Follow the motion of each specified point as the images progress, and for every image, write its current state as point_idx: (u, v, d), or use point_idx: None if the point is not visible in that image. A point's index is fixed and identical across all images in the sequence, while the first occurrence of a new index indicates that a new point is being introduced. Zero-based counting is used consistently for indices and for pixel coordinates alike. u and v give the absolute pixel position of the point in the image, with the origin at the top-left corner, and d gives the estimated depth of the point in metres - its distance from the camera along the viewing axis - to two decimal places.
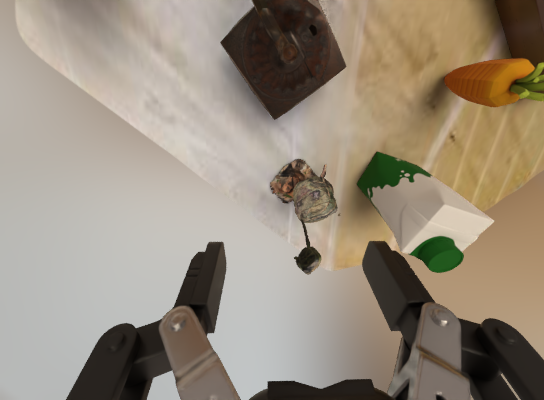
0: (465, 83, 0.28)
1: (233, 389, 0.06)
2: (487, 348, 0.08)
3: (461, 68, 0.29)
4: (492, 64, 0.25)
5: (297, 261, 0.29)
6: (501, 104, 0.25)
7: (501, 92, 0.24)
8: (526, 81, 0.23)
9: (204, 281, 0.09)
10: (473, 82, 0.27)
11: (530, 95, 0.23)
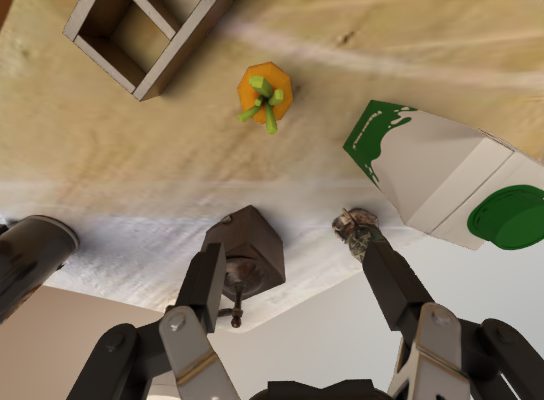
0: None
1: (233, 389, 0.06)
2: (486, 348, 0.08)
3: None
4: None
5: None
6: (289, 100, 0.19)
7: (273, 113, 0.19)
8: (259, 108, 0.17)
9: (204, 281, 0.09)
10: None
11: (276, 104, 0.16)
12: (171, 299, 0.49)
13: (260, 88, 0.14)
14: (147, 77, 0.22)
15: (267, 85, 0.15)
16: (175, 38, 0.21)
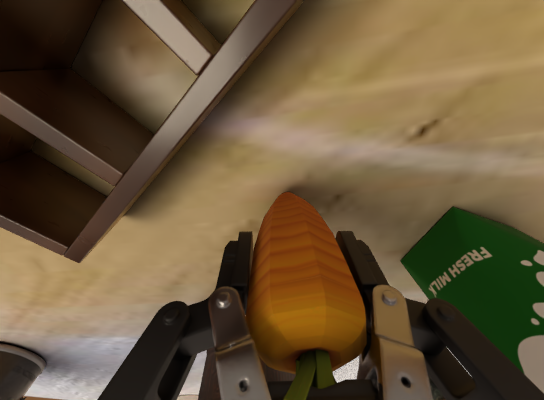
0: None
1: (263, 377, 0.06)
2: (429, 325, 0.08)
3: None
4: None
5: None
6: (362, 348, 0.08)
7: None
8: None
9: (241, 266, 0.10)
10: None
11: None
12: None
13: None
14: (84, 235, 0.13)
15: None
16: (123, 182, 0.11)
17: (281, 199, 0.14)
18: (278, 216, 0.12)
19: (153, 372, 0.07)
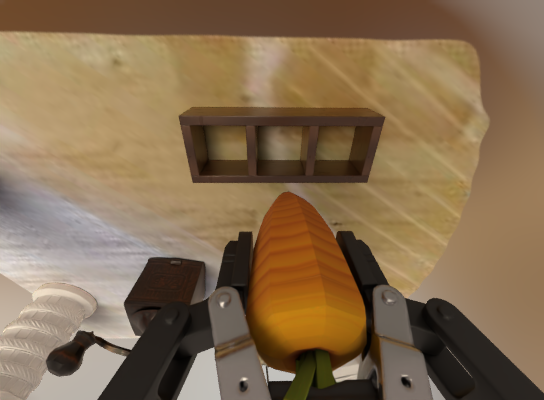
0: None
1: (263, 377, 0.06)
2: (429, 324, 0.08)
3: None
4: None
5: None
6: (362, 348, 0.08)
7: None
8: None
9: (242, 266, 0.10)
10: None
11: None
12: (54, 288, 0.44)
13: None
14: (213, 177, 0.27)
15: None
16: (252, 177, 0.27)
17: (281, 199, 0.14)
18: (278, 215, 0.12)
19: (153, 372, 0.07)
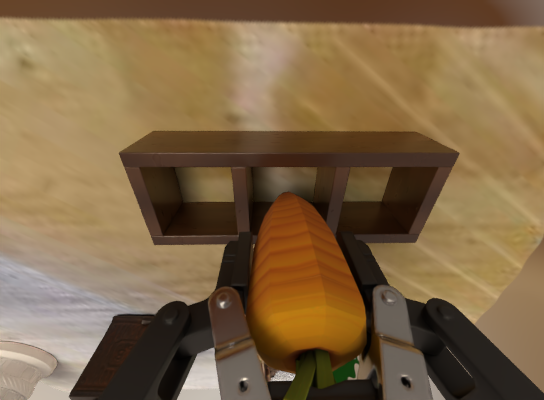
0: None
1: (263, 377, 0.06)
2: (429, 325, 0.08)
3: None
4: None
5: None
6: (362, 348, 0.08)
7: None
8: None
9: (242, 266, 0.10)
10: None
11: None
12: None
13: None
14: (184, 238, 0.18)
15: None
16: None
17: (281, 199, 0.14)
18: (278, 215, 0.12)
19: (153, 372, 0.07)
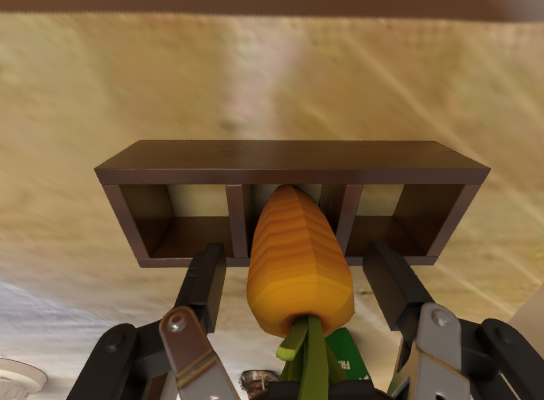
0: None
1: (233, 389, 0.06)
2: (487, 348, 0.08)
3: None
4: None
5: None
6: (350, 316, 0.09)
7: None
8: None
9: (204, 281, 0.09)
10: None
11: None
12: None
13: None
14: (174, 261, 0.16)
15: None
16: (241, 259, 0.16)
17: (280, 189, 0.15)
18: (276, 203, 0.13)
19: None
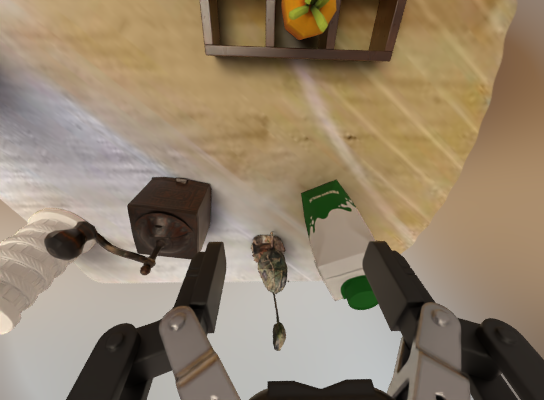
0: None
1: (233, 389, 0.06)
2: (487, 348, 0.08)
3: None
4: (286, 27, 0.21)
5: None
6: (334, 7, 0.19)
7: None
8: (308, 8, 0.18)
9: (204, 281, 0.09)
10: None
11: None
12: (51, 212, 0.42)
13: None
14: (228, 48, 0.25)
15: None
16: (270, 49, 0.25)
17: None
18: None
19: None
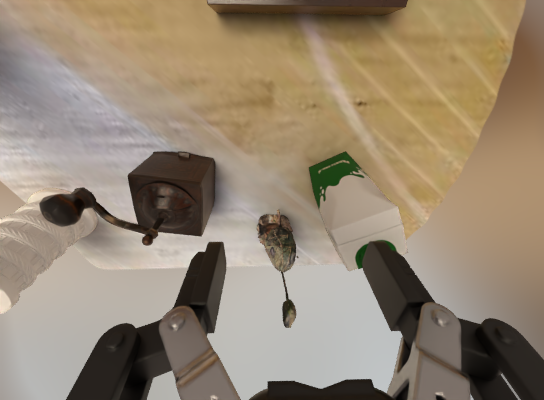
0: None
1: (233, 389, 0.06)
2: (486, 348, 0.08)
3: None
4: None
5: None
6: None
7: None
8: None
9: (204, 281, 0.09)
10: None
11: None
12: (50, 191, 0.40)
13: None
14: None
15: None
16: None
17: None
18: None
19: None
